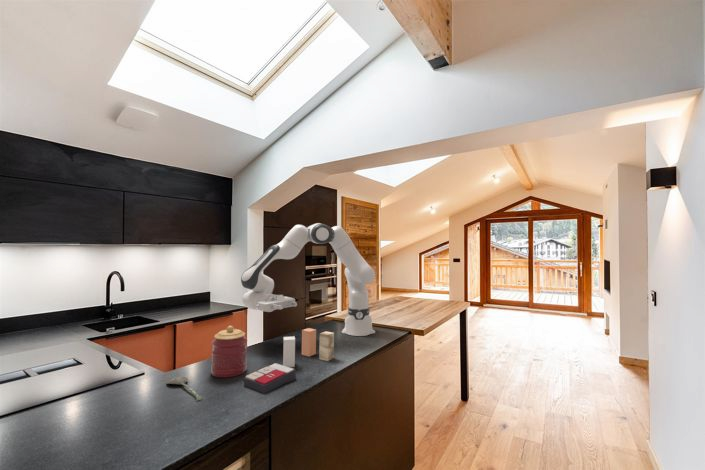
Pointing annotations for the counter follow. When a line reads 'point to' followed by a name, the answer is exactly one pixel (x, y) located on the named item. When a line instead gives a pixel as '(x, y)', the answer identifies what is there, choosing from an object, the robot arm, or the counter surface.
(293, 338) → the grey block
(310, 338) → the terracotta block
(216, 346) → the canister
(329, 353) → the ash block
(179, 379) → the grey axe
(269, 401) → the counter surface
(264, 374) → the flat patterned box
